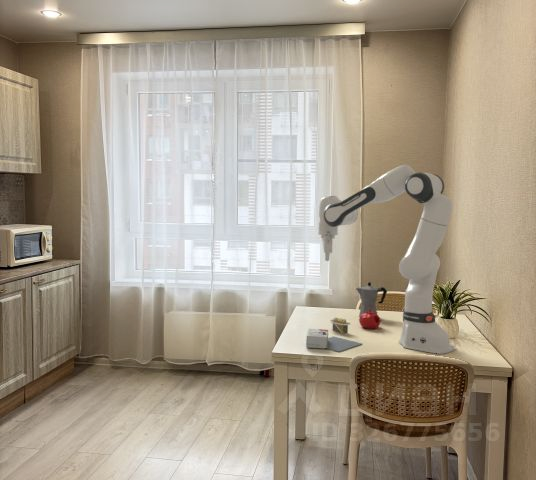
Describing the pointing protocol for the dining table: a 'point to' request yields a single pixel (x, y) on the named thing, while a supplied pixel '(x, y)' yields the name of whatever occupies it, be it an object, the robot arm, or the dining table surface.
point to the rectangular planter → (340, 325)
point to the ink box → (317, 338)
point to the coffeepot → (370, 297)
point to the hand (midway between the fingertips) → (327, 260)
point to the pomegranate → (369, 320)
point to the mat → (340, 344)
